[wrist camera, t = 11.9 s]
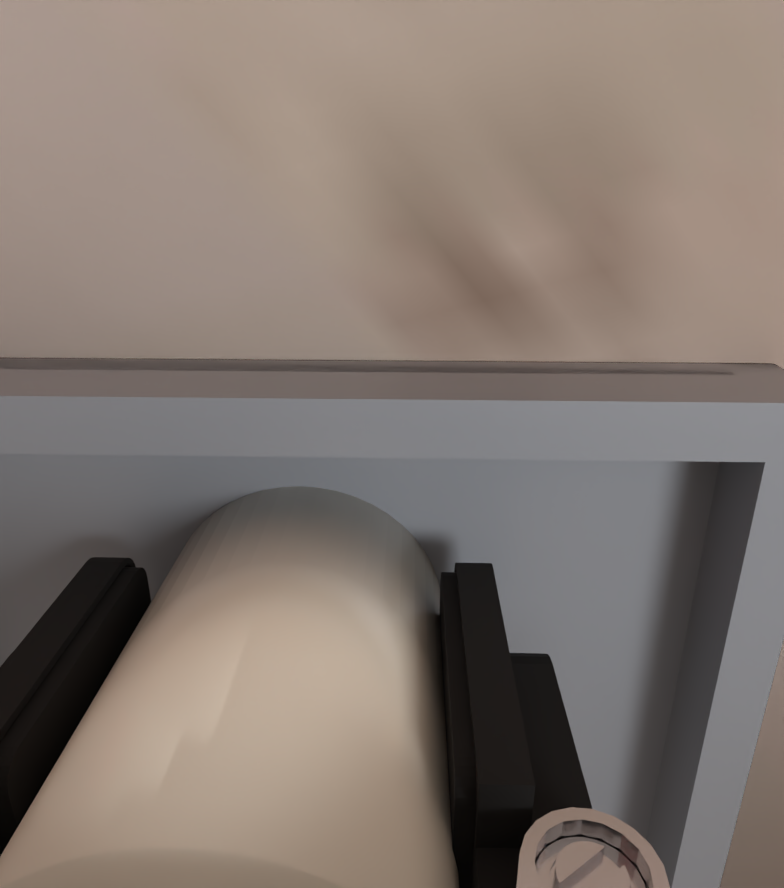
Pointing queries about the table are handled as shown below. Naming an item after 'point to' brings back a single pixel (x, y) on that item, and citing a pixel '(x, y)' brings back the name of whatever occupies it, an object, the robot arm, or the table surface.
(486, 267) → the table surface
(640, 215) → the table surface
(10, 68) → the table surface
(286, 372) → the parts tray
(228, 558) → the pebble
